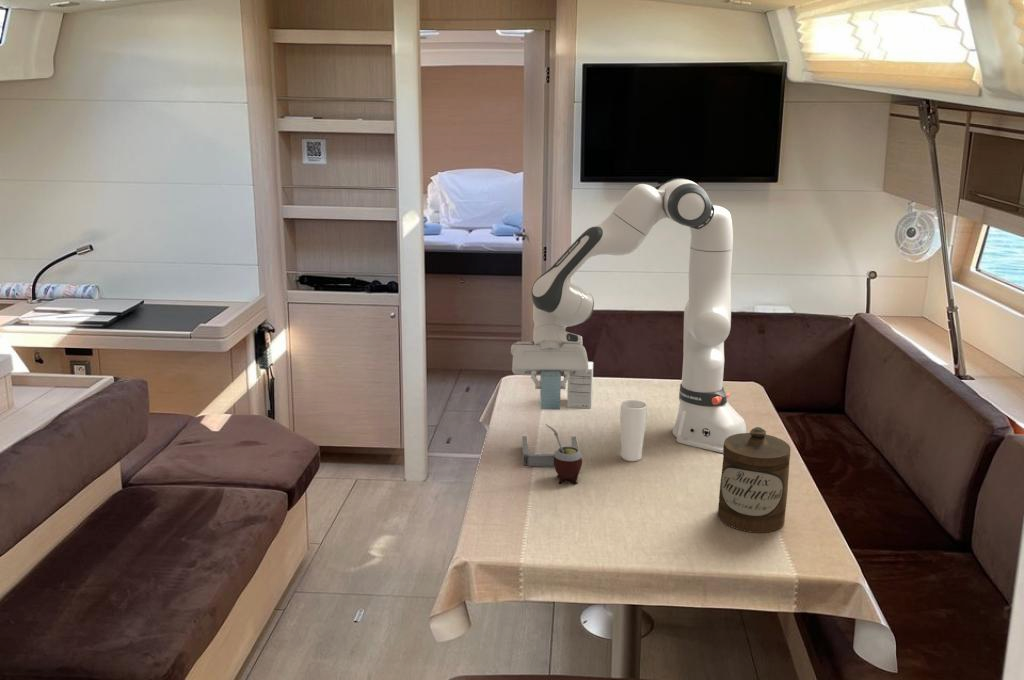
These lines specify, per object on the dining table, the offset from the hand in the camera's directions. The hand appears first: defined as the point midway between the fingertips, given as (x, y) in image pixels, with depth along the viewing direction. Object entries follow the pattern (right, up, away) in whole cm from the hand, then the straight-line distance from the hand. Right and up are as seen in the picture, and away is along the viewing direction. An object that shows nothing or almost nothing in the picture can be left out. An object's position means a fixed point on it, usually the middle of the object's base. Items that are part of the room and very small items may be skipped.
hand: (550, 388), depth 250 cm
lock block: (0, -5, +2) cm, 5 cm away
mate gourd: (+3, -22, -14) cm, 27 cm away
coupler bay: (0, -18, +1) cm, 18 cm away
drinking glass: (+21, -19, 0) cm, 28 cm away
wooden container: (+45, -28, -32) cm, 62 cm away
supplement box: (+10, -7, +39) cm, 41 cm away
